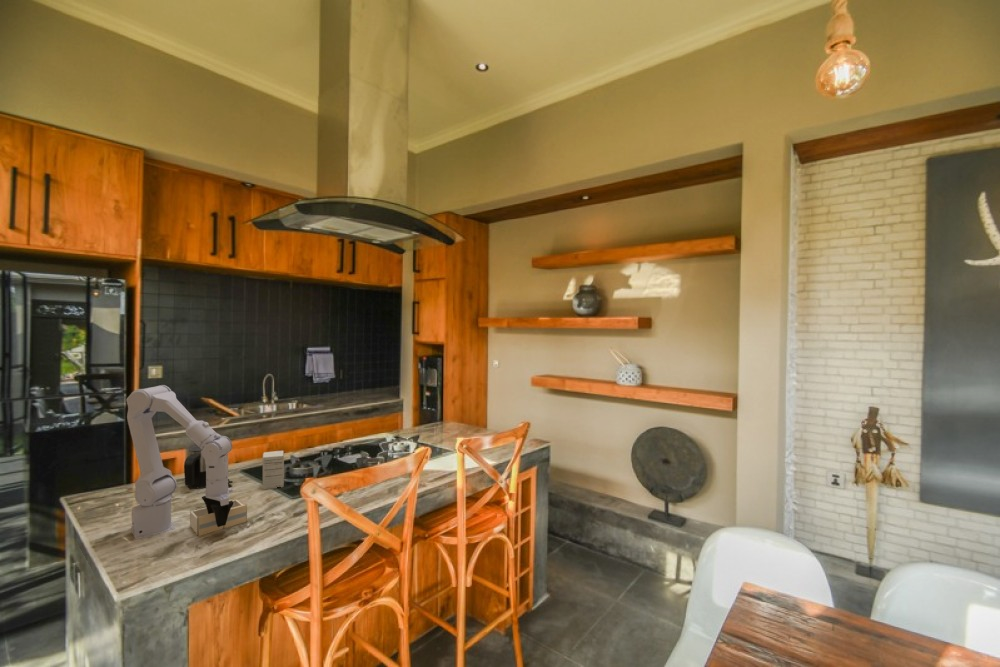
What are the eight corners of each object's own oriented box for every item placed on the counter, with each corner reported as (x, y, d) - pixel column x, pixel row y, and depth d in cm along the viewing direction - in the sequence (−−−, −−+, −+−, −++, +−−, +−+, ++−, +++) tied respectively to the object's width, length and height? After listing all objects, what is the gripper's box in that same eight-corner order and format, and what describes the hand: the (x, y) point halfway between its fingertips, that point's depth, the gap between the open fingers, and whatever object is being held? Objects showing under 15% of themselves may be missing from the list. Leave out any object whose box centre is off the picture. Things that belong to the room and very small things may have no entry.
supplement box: (263, 483, 174) (263, 452, 174) (284, 481, 177) (284, 450, 177) (262, 490, 168) (262, 457, 167) (283, 487, 171) (283, 455, 170)
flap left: (197, 536, 131) (197, 518, 130) (196, 535, 131) (196, 517, 131) (222, 529, 135) (222, 511, 135) (221, 528, 136) (221, 510, 136)
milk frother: (191, 482, 175) (191, 445, 174) (236, 477, 181) (236, 441, 180) (181, 495, 162) (180, 455, 161) (230, 489, 168) (230, 451, 167)
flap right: (246, 520, 141) (246, 503, 141) (247, 521, 141) (247, 504, 141) (223, 527, 137) (223, 510, 136) (224, 528, 136) (224, 511, 136)
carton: (197, 536, 132) (197, 519, 132) (190, 527, 137) (190, 511, 137) (245, 521, 141) (245, 506, 141) (236, 514, 147) (236, 499, 147)
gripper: (240, 480, 133) (240, 524, 133) (224, 469, 142) (224, 510, 143) (213, 486, 127) (213, 532, 128) (198, 474, 137) (199, 517, 137)
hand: (217, 521), depth 135 cm, fingers open, 7 cm apart
